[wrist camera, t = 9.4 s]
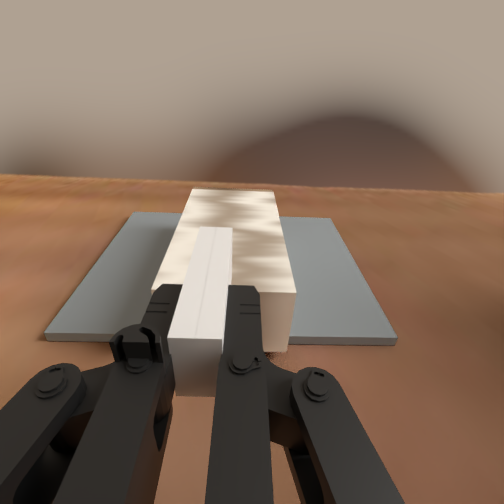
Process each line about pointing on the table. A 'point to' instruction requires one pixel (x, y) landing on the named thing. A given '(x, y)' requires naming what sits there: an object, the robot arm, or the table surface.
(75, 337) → the mat
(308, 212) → the table surface
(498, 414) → the table surface
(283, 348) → the tall block
